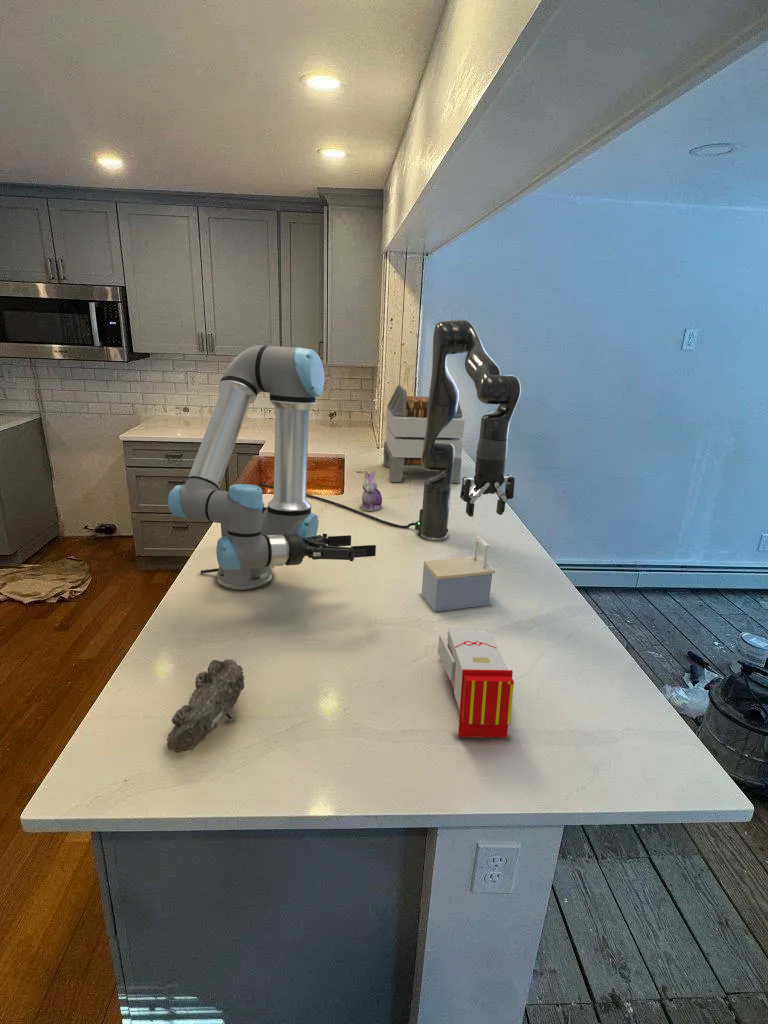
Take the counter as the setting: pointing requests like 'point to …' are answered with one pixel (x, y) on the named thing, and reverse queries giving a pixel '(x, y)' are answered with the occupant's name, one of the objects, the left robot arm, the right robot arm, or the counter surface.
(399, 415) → the grey crate
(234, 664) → the fossil
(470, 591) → the chest
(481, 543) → the lid
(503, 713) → the toy
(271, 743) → the counter surface
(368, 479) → the figurine
